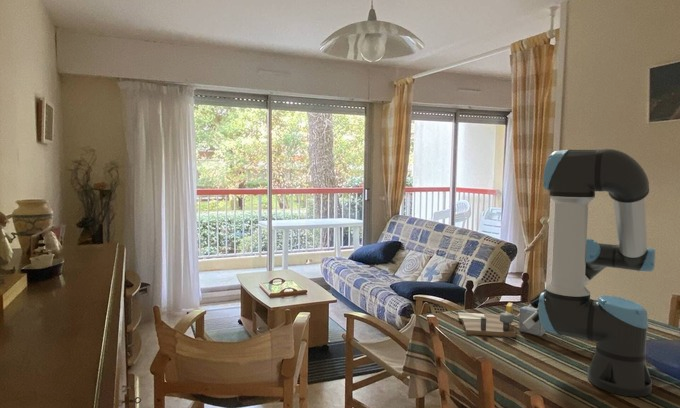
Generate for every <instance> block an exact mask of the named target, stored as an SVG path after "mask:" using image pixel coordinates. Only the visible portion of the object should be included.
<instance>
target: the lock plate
mask: <svg viewBox="0 0 680 408" xmlns="http://www.w3.org/2000/svg"><path fill="white" fill-rule="evenodd" d="M457 315H458V318H459V319H460V320H461V324H462V326H463V329H464V332H465V335H470V336H471V335H473V336H489V337H490V336H491V337H504V338H505V337H506V338H507V337H508V338H516V337H517V332H516V330H515V329H514V328H513V326H512V324H511V325H509V323H503V322H501V321H500V314H494V313H493V314H491V313H473V312H460V311H459V312H457Z"/></svg>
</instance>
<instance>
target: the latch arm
mask: <svg viewBox="0 0 680 408" xmlns="http://www.w3.org/2000/svg"><path fill="white" fill-rule="evenodd" d="M505 309H506V310H505V312H500V313H499V315H500V321H501V322H503V323H509V325H511V326H512V324H513V322H514V315H513V313H514V311H513V310H514V303H513V302H508V303H507V304H506V307H505Z"/></svg>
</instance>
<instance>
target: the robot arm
mask: <svg viewBox="0 0 680 408" xmlns="http://www.w3.org/2000/svg"><path fill="white" fill-rule="evenodd" d="M542 183H543V184H542V185H543V188H544V190H546V191H549V197H550V198H551V200H552V201H553V202H554V219H553V220H554V222H553V223H554V224H553V246H552V247H553V248H552V270H551V274H552V275H551V283H550V284H548V285H547V286H546V287H545V289H543V290H542V291H541V292H539V293H538V294H537V295H535V297H533V298H531V299H530V304H529V305H528V306H527V307H532V308H537V309H538V310H537V311H536V312H535V313H534V314H533V315H531V316H530V317H529V318H528V319H527V320H526V321H524V322H523V324H524V325H525V326H526V327H527V328H528V329H530V328H531V327H532V326H533V325H534V324H535V323H537V322H538V321H539V320H540V323H541V325H542V327H543V328H544V329H545V332H549V333H553V334H556V335H558V336H564V337H570V338H574V339H579V340H583V341H589V342H593V343H596V344H595V351H594V352H595V353H594V355H593V357H592V358H591V361H590V364H589V366H588V369H587V379H588V381H589V382H590V384H592V385H593V386H595V387H596V388H598V389H601V390H603V391H606V392H609V393H612V394H615V395H619V396H625V397H634V398H639V397H646V396H649V395H650V394H652V391H653V389H652V388H653V387H652V386H653V383H652V378H651V376H650V375H651V374H650V371H649V369H648V365H647V363H646V356H647V355H646V354H647V337H648V335H647V334H648V328H649V323H648V311H647V309H645V307H644V306H642V305H641V304H639V303H637V302H635V301H633V300H629V299H627V298H622V297H619V296H614V295H600V296H598V298H597V300H596V299H591V291H590V290H589V289H588V288H587V287H586V285H588V283H589V282H590V281H591V280H592V279H593V278H595V277H596V276H597V275H598V274H599V273H601V272H602V271H603V270H604V269H606V268H614V269H621V270H622V269H623V270H629V271H637V272H653V271H654V270H655V266H656V265H655V264H656V250H655V249H654V248H653V247H649V246H648V242H647V240H648V239H647V236H648V235H647V215H646V212H647V211H646V210H647V209H646V198H647V197H648V195H649V193H650V182H649V178H648V176H647V173H646V172H645V169H644V168H643V167H642V165H641V164H640V163H639V162H638V161H636V160H635V159H634V158H633V157H632V156H630V155H629V154H627V153H626V152H623V151H620V150H618V149H613V148H612V149H611V148H604V149H598V148H597V149H561V150H555V151H553V152H551V153H550V155H549V156H548V158H547V161H546V163H545V166H544V169H543V178H542ZM596 192H608V195H609V197H610V199H612V201H613V209H614V216H615V217H614V218H615V227H616V238H617V244H611V243H610V244H609V243H600V242H597V241H596V240H594V239H592V238H588V221H589V220H588V219H589V204H590V202H591V201H593V200H594V199H595V198H596ZM516 316H517V318H519V319H520V312H518V314H517V315H516Z"/></svg>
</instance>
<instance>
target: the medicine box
mask: <svg viewBox="0 0 680 408" xmlns="http://www.w3.org/2000/svg"><path fill="white" fill-rule="evenodd" d="M537 308H538V307H537ZM537 308H532V307H527V306H526V305H524V306H522V307H520V308H519V313H520V318H519V324H518V326H519V327H518V328H519V329H518V331H519V332H522V333H526V334H530V335H535V336H538V337H539V336H540V337H542V336H543V335H544V334H546V330H545V329H544V328H543V327H542V325H541V323H540V320H539V321H538V322H537V323H535V324H534V325H533V326H532V327H531V328H530V329H528V328H527V327H526V326H525V325H524V324H523V322H524V321H526V320H527V319H528V318H529V317H530V316H531V315H533V314H534V313H535V312H536V311H537V310H538V309H537Z"/></svg>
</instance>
